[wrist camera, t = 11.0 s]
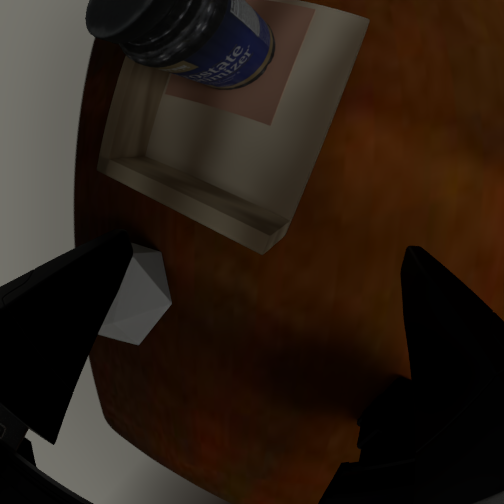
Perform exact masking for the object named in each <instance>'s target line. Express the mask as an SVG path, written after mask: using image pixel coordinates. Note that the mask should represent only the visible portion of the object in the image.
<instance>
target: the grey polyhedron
mask: <svg viewBox="0 0 504 504" xmlns="http://www.w3.org/2000/svg"><path fill="white" fill-rule="evenodd" d="M131 244H132V248H133V257H132V259H131V262H130V264H129V266H128V269H127V271H126V274H125V276H124V279H123V281H122V284H121V286H120V289H119V291H118V293H117V295H116V297H115V299H114V301H113V303H112V305H111V307H110V309H109V312H108V314H107V316H106V318H105V320H104V322H103V324H102V326H101V328H100V331H99V333H98V334H99V335H103V336H106V337H110V338H113V339H117V340H120V341H124V342H128V343H132V344H136V345H139V344H140V343H141V342H142V341H143V339H144V338H145V337H146V336H147V334H148V333H149V332H150V330H151V329H152V328H153V327H154V325H155V324H156V323H157V322H158V320H159V319H160V318H161V317H162V315H163V314H164V313H165V312H166V310H167V309H168V308H169V307H170V305H171V304H172V301H171V296H170V292H169V287H168V283H167V278H166V273H165V268H164V263H163V258H162V253H161V252H160V251H157V250H153V249H150V248H147V247H144V246H141V245H137V244H134V243H131Z"/></svg>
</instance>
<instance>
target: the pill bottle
mask: <svg viewBox="0 0 504 504" xmlns="http://www.w3.org/2000/svg"><path fill="white" fill-rule="evenodd" d="M85 19H86V26H87V29H88V31H89V32H90V34H92V35H93V36H94V37H96V38H99V39H102V40H106V41H110V42H112V43H117V44H119V45H120V47H121V49H122V50H123V52H124V53H125V54H126V56H127V57H128V58H130V59H131V60H133V61H134V62H136V63H138V64H141V65H144V66H148V67H152V68H155V69H159V70H162V71H165V72H169V73H172V74H175V75H178V76H181V77H184V78H187V79H190V80H193V81H196V82H199V83H202V84H205V85H208V86H210V87H213V88H215V89H219V90H232V89H237V88H241V87H244V86H246V85H249V84H251V83H252V82H254V81H255V80H257V79H258V78H259V77H260V76H261V75H262V74H263V73H264V72H265V70H266V68H267V66H268V64H270V63H271V61H272V59H273V57H274V52H275V39H274V35H273V32H272V30H271V28H270V26H269V25H268V24H267V23H266V22H265V21H264V20H263V19H262V18H261V17H260V15H259V14H258V13H257V12H256V11H255V10H254V9H253V8H252V7H251V6H250V5H249V4H248V3H247V2H246V1H245V0H90V1H89V3H88V7H87V11H86V18H85Z"/></svg>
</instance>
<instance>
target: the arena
mask: <svg viewBox="0 0 504 504" xmlns="http://www.w3.org/2000/svg"><path fill="white" fill-rule="evenodd" d="M245 1H246V2H247V3H248V4H249V5H250V6H251V7H252V8H253V9H254V10H255V11H256V12H257V13H258V14H259V15H260V17H261V18H262V19H263V20H264V21H265V22H266V23H267V24H268V25H269V26H270V28H271V30H272V32H273V35H274V39H275V52H274V57H273V59H272V61H271V63H270V64H268V66H267V68H266V70H265V72H264V73H263V74H262V75H261V76H260V77H259V78H258V79H257V80H255V81H254V82H252V83H251V84H249V85H246V86H244V87H241V88H237V89H232V90H219V89H215V88H213V87H210V86H208V85H205V84H202V83H199V82H196V81H193V80H190V79H187V78H184V77H181V76H178V75H175V74H172V73H169V72H165V71H162V70H159V69H155V68H152V67H148V66H144V65H141V64H138V63H136V62H134V61H133V60H131V59H130V58H128V57H127V56H125V59H124V62H123V65H122V68H121V72H120V75H119V78H118V81H117V85H116V88H115V92H114V95H113V99H112V102H111V106H110V110H109V114H108V118H107V122H106V126H105V131H104V135H103V140H102V144H101V149H100V154H99V160H98V165H97V171H99V172H101V173H103V174H105V175H107V176H109V177H111V178H113V179H115V180H117V181H119V182H121V183H123V184H125V185H127V186H129V187H131V188H133V189H135V190H137V191H139V192H140V193H142V194H144V195H146V196H148V197H150V198H152V199H154V200H156V201H158V202H160V203H162V204H164V205H166V206H168V207H170V208H172V209H174V210H176V211H178V212H179V213H181V214H183V215H185V216H187V217H189V218H191V219H193V220H195V221H197V222H199V223H201V224H203V225H205V226H207V227H209V228H211V229H213V230H215V231H216V232H218V233H220V234H222V235H224V236H226V237H228V238H230V239H232V240H234V241H236V242H238V243H240V244H242V245H244V246H246V247H248V248H250V249H251V250H253V251H255V252H257V253H259V254H261V255H263V254H264V253H265V252H267V251H268V250H269V249H270V248H271V247H272V246H274V245H275V244H276V243H277V242H278V241H279V240H281V239H282V238H283V237H284V236H285V235H286V232H287V230H288V227H289V225H290V223H291V220H292V218H293V216H294V213H295V211H296V208H297V206H298V204H299V201H300V199H301V196H302V194H303V191H304V189H305V187H306V184H307V182H308V179H309V177H310V174H311V172H312V169H313V167H314V165H315V162H316V160H317V157H318V155H319V152H320V150H321V147H322V145H323V142H324V140H325V137H326V135H327V132H328V130H329V127H330V124H331V122H332V119H333V117H334V114H335V112H336V109H337V107H338V104H339V101H340V99H341V96H342V94H343V91H344V89H345V86H346V83H347V81H348V78H349V75H350V73H351V70H352V68H353V65H354V62H355V60H356V57H357V54H358V52H359V49H360V46H361V43H362V41H363V38H364V35H365V33H366V30H367V27H368V24H369V19H367V18H364V17H361V16H358V15H355V14H351V13H348V12H344V11H341V10H337V9H334V8H330V7H326V6H322V5H317V4H313V3H309V2H304V1H299V0H245Z"/></svg>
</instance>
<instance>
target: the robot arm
mask: <svg viewBox="0 0 504 504" xmlns="http://www.w3.org/2000/svg"><path fill="white" fill-rule="evenodd" d="M132 257H133V248H132V244H131V241H130V238H129V235H128V232H127V231H126V230H124V229H115V230H113V231H110V232H108V233H106V234H104V235H102V236H100V237H97V238H95V239H93V240H91V241H89V242H87V243H85V244H83V245H81V246H79V247H77V248H75V249H73V250H70V251H69V252H66V253H65V254H62V255H60V256H58V257H56V258H55V259H53V260H51V261H49V262H47V263H45V264H43V265H41V266H39V267H37V268H35V270H31V271H30V272H28V273H26V274H24V275H22V276H20V277H18V278H16V279H15V280H13V281H11V282H9V283H7V284H5V285H3V286H1V287H0V504H93V503H91V502H89V501H88V500H86V499H84V498H82V497H80V496H79V495H77V494H76V493H74V492H72V491H71V490H69V489H67V488H66V487H64V486H63V485H61V484H60V483H58V482H57V481H55V480H54V479H52V478H51V477H49V476H47V475H46V474H45V473H43V472H42V471H41V470H39V469H38V468H37V467H36V463H35V459H34V455H33V450H32V445H31V442H30V441H29V440H28V439H26V438H25V435H26V433H27V431H28V429H30V430H32V431H33V432H35V433H36V434H38V435H39V436H41V437H42V438H44V439H45V440H47V441H48V442H50V443H51V444H53V445H54V444H55V442H56V440H57V436H58V433H59V430H60V428H61V425H62V422H63V419H64V416H65V413H66V410H67V408H68V405H69V402H70V400H71V397H72V394H73V392H74V389H75V386H76V384H77V381H78V379H79V376H80V374H81V371H82V369H83V367H84V364H85V362H86V360H87V357H88V355H89V353H90V350H91V348H92V346H93V344H94V341H95V339H96V337H97V335H98V333H99V331H100V328H101V326H102V324H103V322H104V320H105V318H106V316H107V314H108V312H109V309H110V307H111V305H112V303H113V301H114V299H115V297H116V295H117V293H118V291H119V289H120V286H121V284H122V281H123V279H124V276H125V274H126V271H127V269H128V266H129V264H130V262H131V259H132ZM401 286H402V300H403V316H404V325H405V331H406V338H407V345H408V352H409V360H410V369H411V378H412V381H409V380H407V379H405V378H402V377H400V378H397V379H396V380H395V381H394V382H393V383H392V384H391V385H390V386H389V387H388V389H387V390H386V391H385V392H384V393H383V394H381V395H379V396H378V397H377V398H376V399H375V400H374V401H373V402H372V403H371V404H370V405H369V406H368V407H367V408H366V409H365V410H364V411H363V415H362V416H361V417H360V418H359V419H358V421H357V425H358V426H360V432H359V437H358V442H357V447H358V448H359V449H361V453H360V458H359V462H353V463H349V462H344V463H341V465H340V466H339V468H338V470H337V472H336V474H335V475H334V477H333V479H332V481H331V482H330V484H329V486H328V487H327V489H326V491H325V492H324V494H323V496H322V498H321V499H320V501H319V503H318V504H504V321H503V320H502V319H501V318H500V317H499V316H498V315H497V314H496V313H495V312H493V310H492V309H491V308H490V307H489V306H487V305H486V304H485V303H484V302H483V301H482V300H481V299H480V298H479V297H478V296H477V295H476V294H475V293H474V292H473V291H472V290H471V289H469V288H468V287H467V286H466V285H465V284H464V283H463V282H462V281H461V280H459V279H458V278H457V277H456V276H455V275H454V274H453V273H452V272H450V271H449V270H448V269H447V268H446V267H445V266H443V265H442V264H441V263H440V262H439V261H437V260H436V259H435V258H434V257H433V256H432V255H430V254H429V253H428V252H427V251H425V250H424V249H423V248H422V247H420V246H408V247H407V249H406V252H405V256H404V260H403V263H402V267H401ZM399 383H402V384H399Z"/></svg>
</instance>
